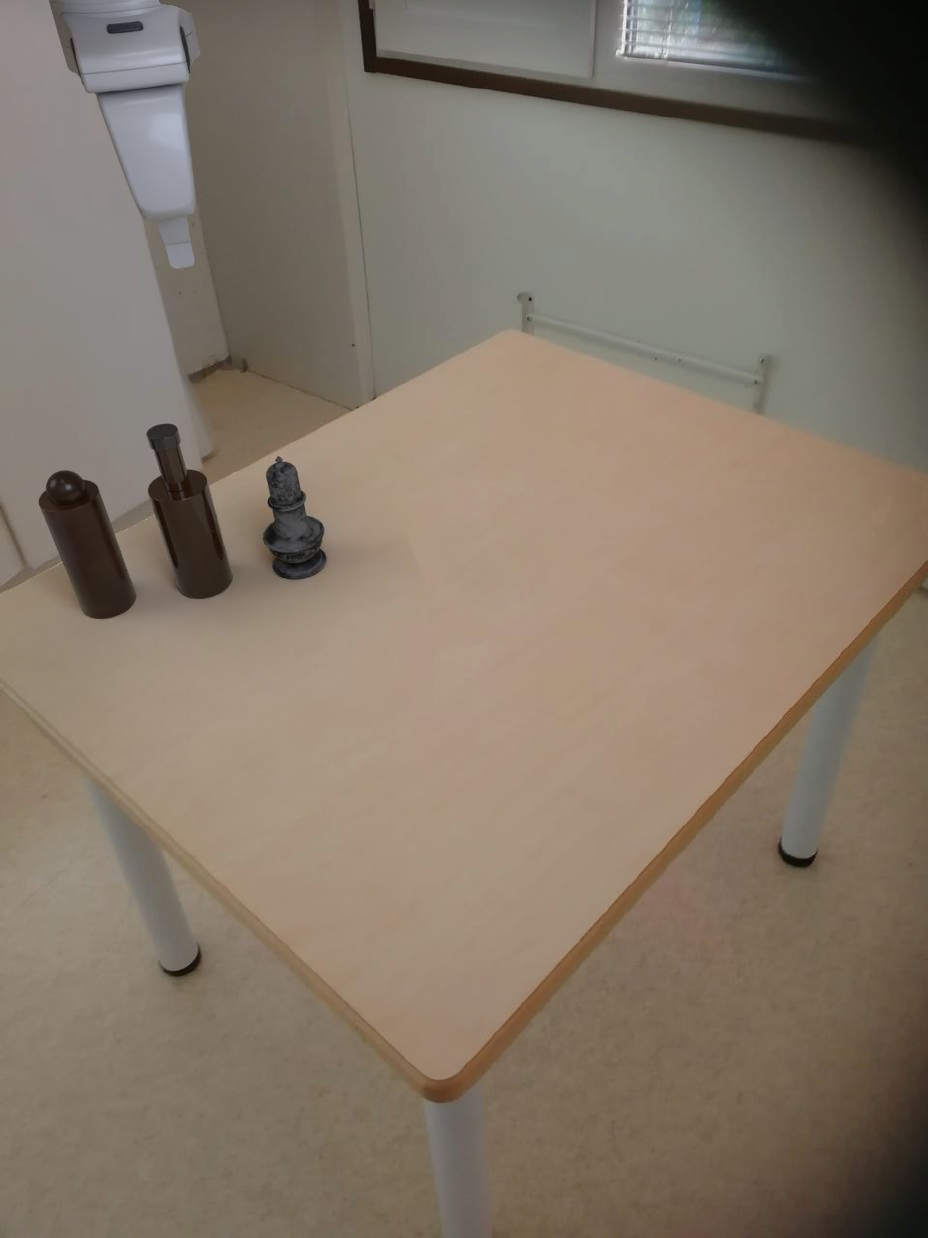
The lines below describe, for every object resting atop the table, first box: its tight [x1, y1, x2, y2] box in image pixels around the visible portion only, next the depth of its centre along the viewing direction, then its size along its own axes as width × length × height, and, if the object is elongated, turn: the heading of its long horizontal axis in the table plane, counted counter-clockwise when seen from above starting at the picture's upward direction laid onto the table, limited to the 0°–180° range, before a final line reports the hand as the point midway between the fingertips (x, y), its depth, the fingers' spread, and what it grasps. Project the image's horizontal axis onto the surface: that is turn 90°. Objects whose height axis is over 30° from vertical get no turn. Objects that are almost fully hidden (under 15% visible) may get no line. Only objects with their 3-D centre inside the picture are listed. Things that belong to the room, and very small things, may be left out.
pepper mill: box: [38, 469, 137, 620], centre depth 85 cm, size 5×5×14 cm
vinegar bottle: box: [145, 423, 234, 600], centre depth 86 cm, size 5×5×16 cm
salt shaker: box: [262, 455, 328, 580], centre depth 89 cm, size 6×6×12 cm
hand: (179, 242), depth 73 cm, fingers open, 8 cm apart
